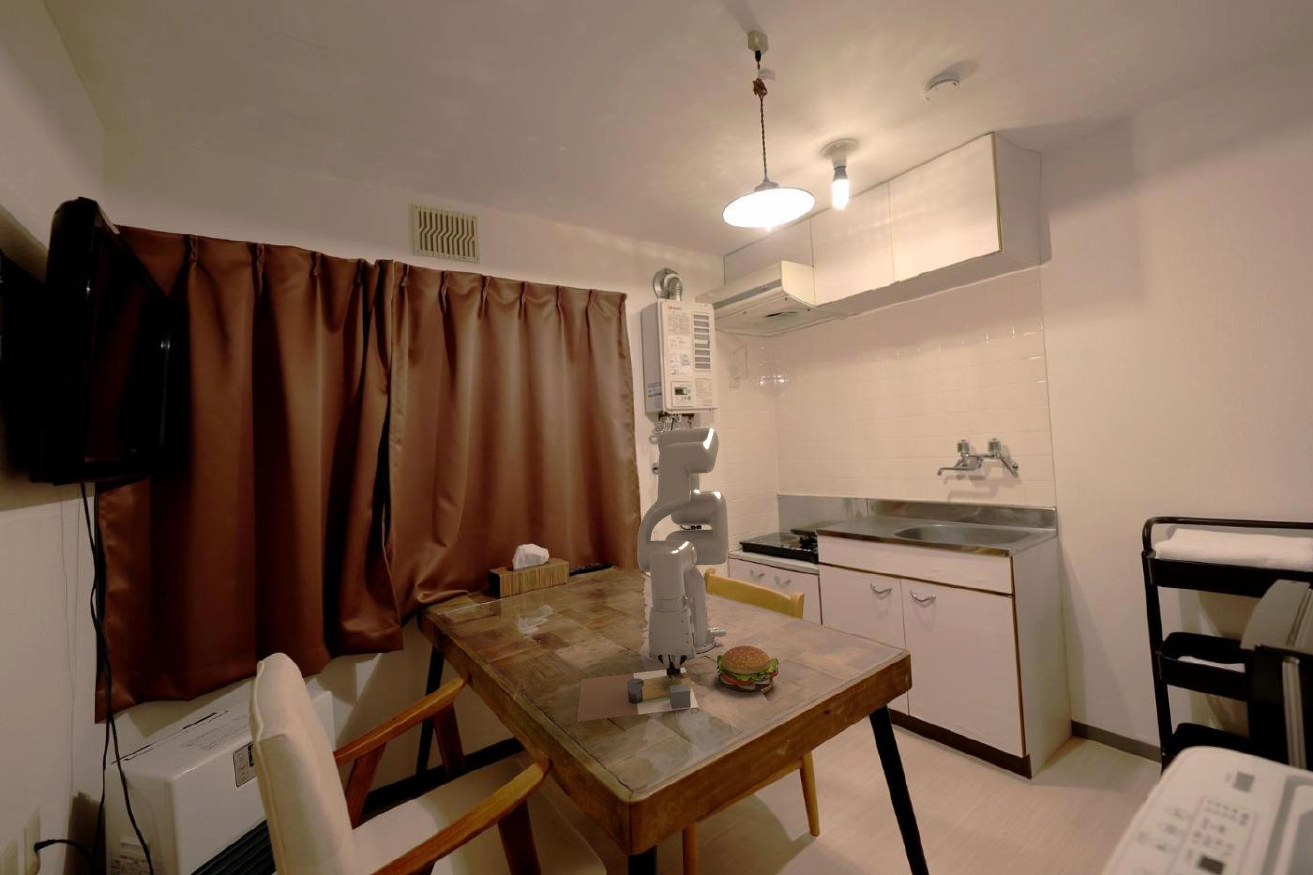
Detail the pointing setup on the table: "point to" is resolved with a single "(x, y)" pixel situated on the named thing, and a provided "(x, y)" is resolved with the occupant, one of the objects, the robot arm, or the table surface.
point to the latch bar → (655, 687)
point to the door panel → (612, 697)
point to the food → (747, 669)
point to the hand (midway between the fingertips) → (674, 683)
